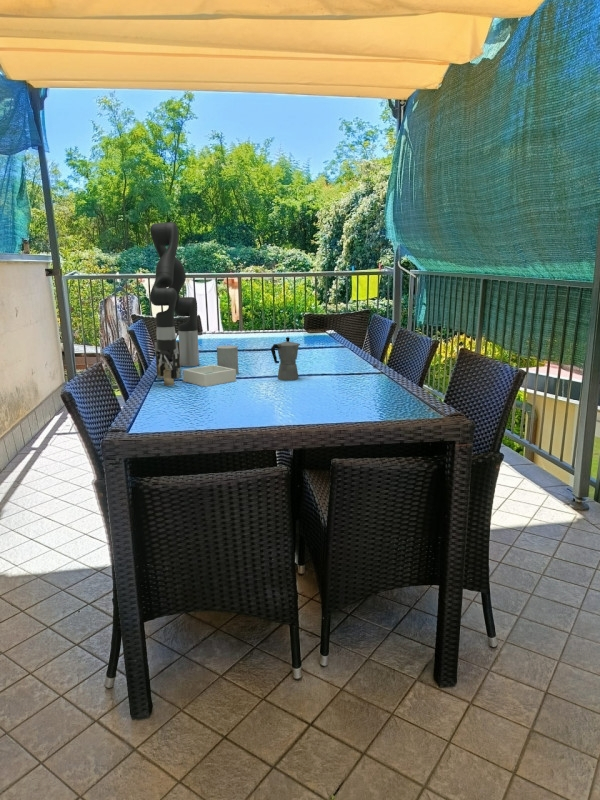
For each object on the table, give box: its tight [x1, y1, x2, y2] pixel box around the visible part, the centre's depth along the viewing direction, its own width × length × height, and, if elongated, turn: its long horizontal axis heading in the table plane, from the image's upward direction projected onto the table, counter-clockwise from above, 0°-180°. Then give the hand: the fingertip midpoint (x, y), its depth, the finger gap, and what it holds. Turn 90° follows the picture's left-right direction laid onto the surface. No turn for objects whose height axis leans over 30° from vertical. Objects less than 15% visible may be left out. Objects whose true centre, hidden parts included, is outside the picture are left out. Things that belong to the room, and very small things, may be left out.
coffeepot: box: [270, 336, 301, 382], centre depth 236 cm, size 15×9×18 cm, turn 129°
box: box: [182, 364, 237, 388], centre depth 234 cm, size 16×16×5 cm
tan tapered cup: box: [163, 370, 175, 387], centre depth 227 cm, size 4×4×6 cm
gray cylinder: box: [216, 344, 239, 376], centre depth 250 cm, size 10×10×12 cm
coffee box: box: [154, 340, 182, 380], centre depth 240 cm, size 9×6×16 cm
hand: (168, 377), depth 227 cm, fingers open, 8 cm apart
